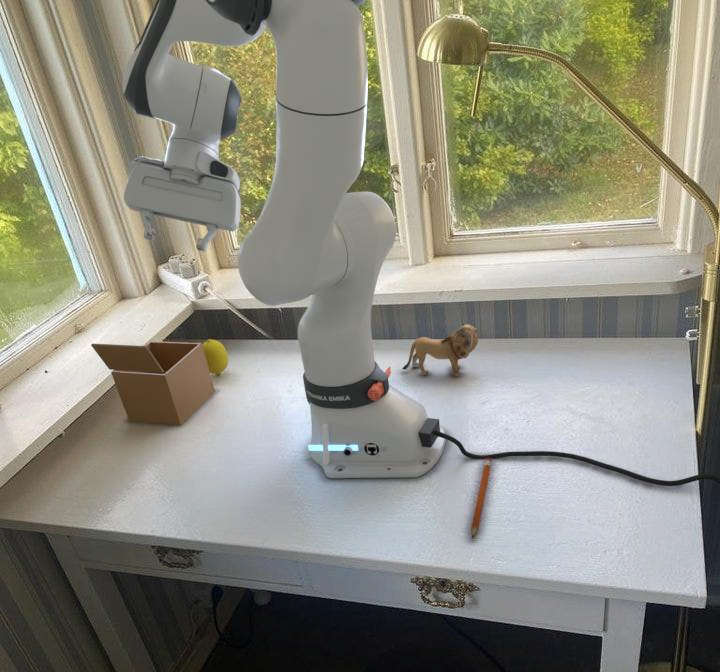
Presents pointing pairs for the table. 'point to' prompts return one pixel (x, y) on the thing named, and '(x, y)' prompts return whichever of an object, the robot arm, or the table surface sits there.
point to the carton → (166, 384)
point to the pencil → (480, 497)
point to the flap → (127, 357)
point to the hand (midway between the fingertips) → (175, 244)
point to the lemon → (215, 356)
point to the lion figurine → (444, 348)
